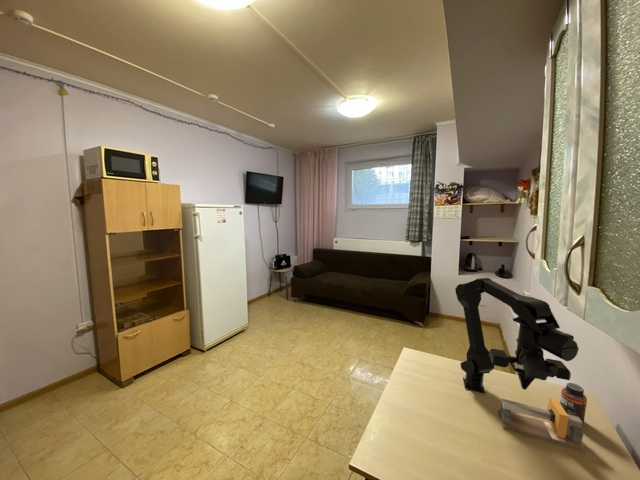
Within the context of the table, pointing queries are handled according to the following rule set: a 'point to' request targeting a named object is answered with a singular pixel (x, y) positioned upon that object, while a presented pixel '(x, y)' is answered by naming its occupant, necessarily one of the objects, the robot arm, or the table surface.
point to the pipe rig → (539, 424)
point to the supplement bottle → (574, 400)
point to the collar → (558, 418)
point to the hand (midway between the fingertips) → (523, 388)
